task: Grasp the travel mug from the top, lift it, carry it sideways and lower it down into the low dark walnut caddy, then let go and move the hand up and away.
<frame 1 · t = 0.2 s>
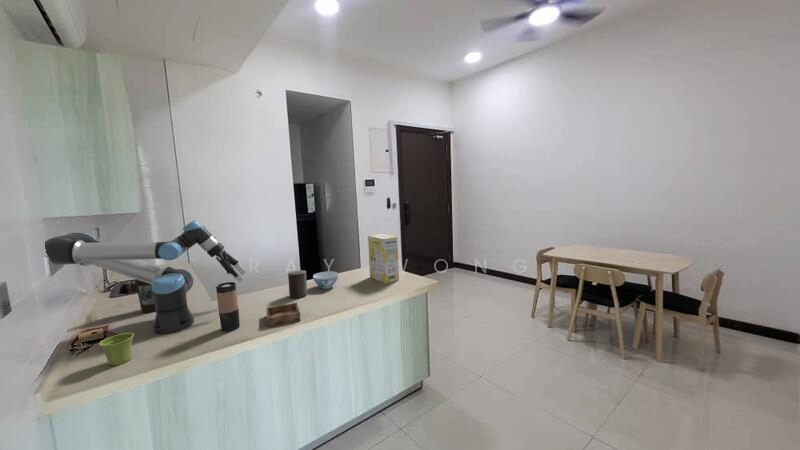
hand: (243, 276, 163), 15 cm above the worktop, tool tilted 35°, fingers open, 13 cm apart
walnut caddy: (283, 318, 147), on the worktop
pillar candle: (298, 295, 177), on the worktop
chinaware: (326, 287, 190), on the worktop
olive oil: (153, 309, 164), on the worktop
plant pot: (120, 361, 114), on the worktop
pasta box: (384, 278, 203), on the worktop
travel mug: (230, 328, 138), on the worktop
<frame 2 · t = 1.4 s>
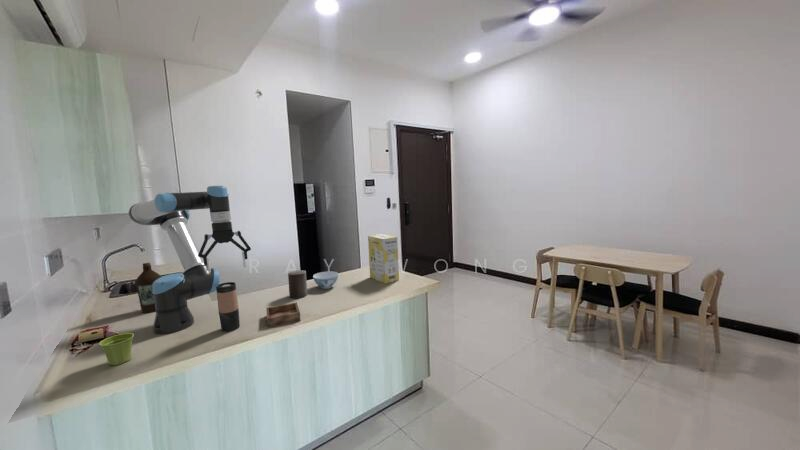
hand: (227, 269, 137), 26 cm above the worktop, tool pointing down, fingers open, 13 cm apart
nothing on the worktop moved.
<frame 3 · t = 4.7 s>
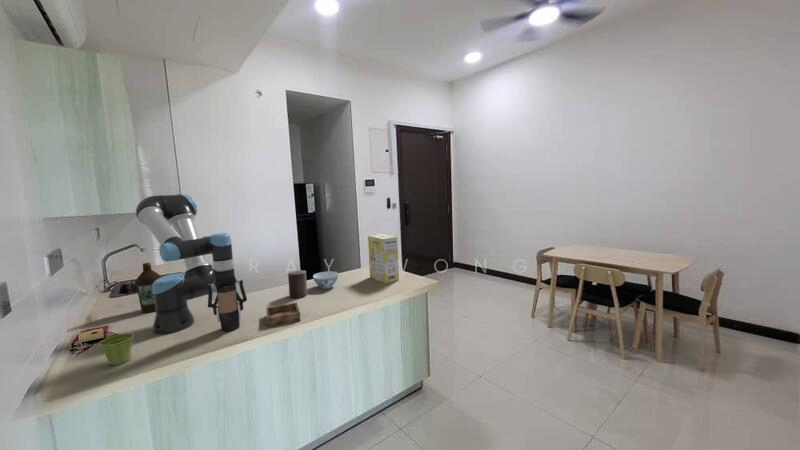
hand: (229, 319, 138), 4 cm above the worktop, tool pointing down, fingers closed on travel mug, 8 cm apart
travel mug: (230, 328, 138), on the worktop, touching gripper
everything else where it was.
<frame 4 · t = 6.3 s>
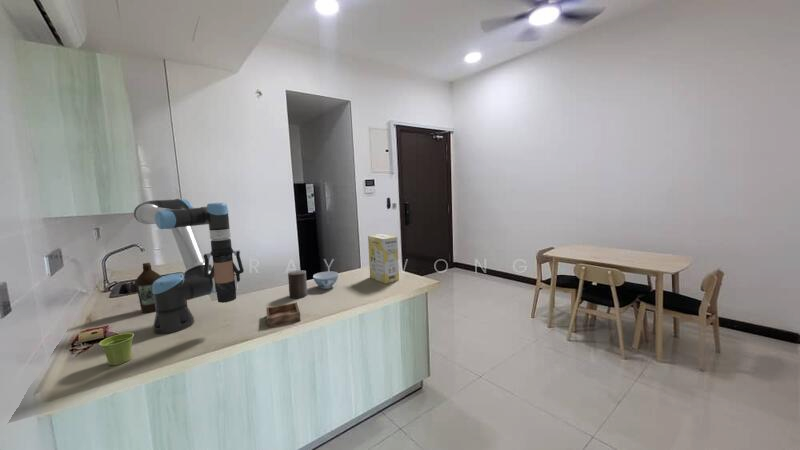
hand: (226, 290, 136), 17 cm above the worktop, tool pointing down, fingers closed on travel mug, 8 cm apart
travel mug: (227, 300, 137), point 13 cm above the worktop, touching gripper
everything else where it was.
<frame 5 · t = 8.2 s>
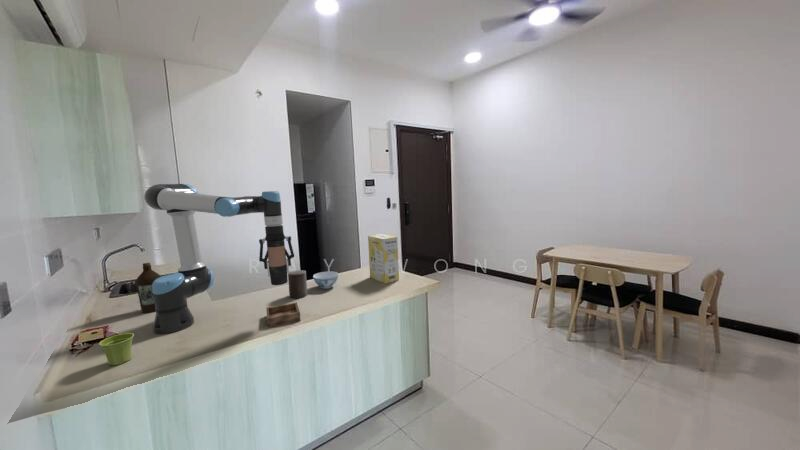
hand: (278, 274, 144), 21 cm above the worktop, tool pointing down, fingers closed on travel mug, 8 cm apart
travel mug: (279, 283, 144), point 17 cm above the worktop, touching gripper
everything else where it was.
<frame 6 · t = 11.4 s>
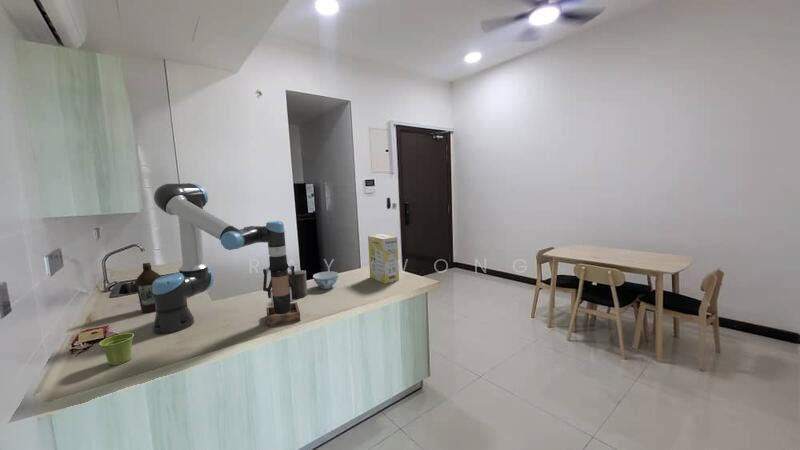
hand: (281, 302, 146), 8 cm above the worktop, tool pointing down, fingers closed on travel mug, 7 cm apart
travel mug: (282, 311, 146), point 3 cm above the worktop, touching gripper
everything else where it was.
when the fingers open (8 cm above the worktop, at t = 11.6 s): travel mug drops 2 cm, resting on walnut caddy.
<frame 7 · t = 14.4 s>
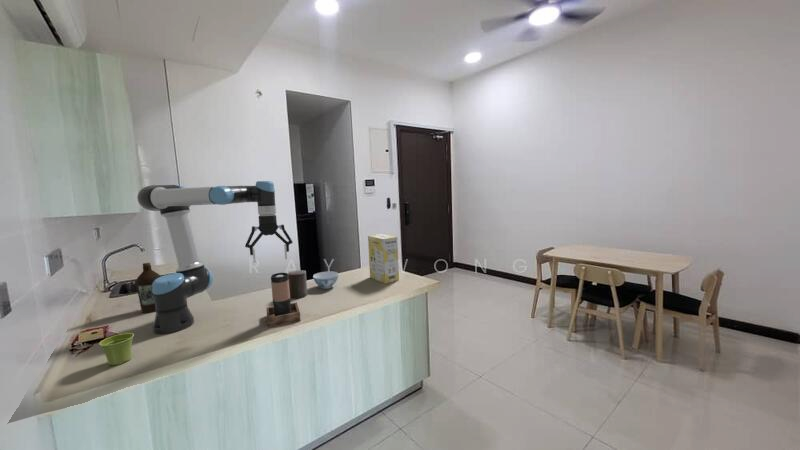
hand: (270, 260, 146), 28 cm above the worktop, tool pointing down, fingers open, 13 cm apart
travel mug: (283, 316, 147), point 1 cm above the worktop, touching walnut caddy
everything else where it was.
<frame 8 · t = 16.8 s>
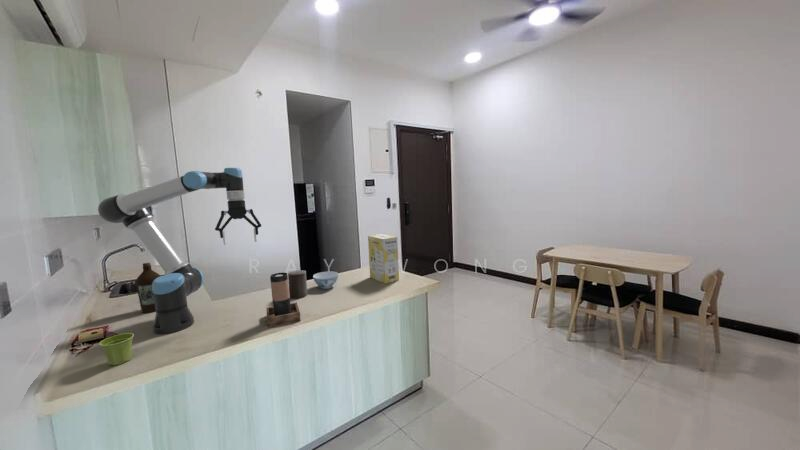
hand: (240, 242, 154), 35 cm above the worktop, tool pointing down, fingers open, 13 cm apart
at the end: travel mug 0.0 cm off-centre on the walnut caddy, point 0.9 cm above the walnut caddy's base; travel mug tilted 1°; the gripper is holding nothing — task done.
